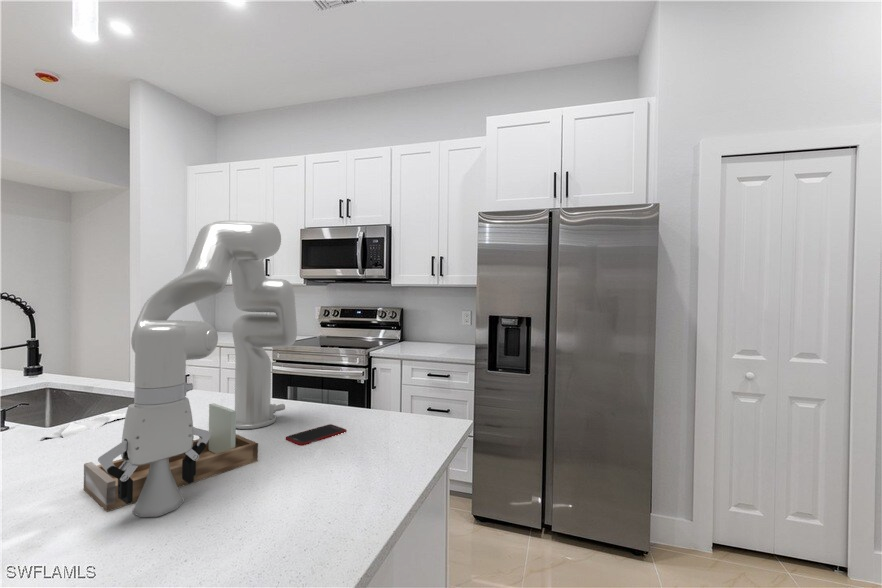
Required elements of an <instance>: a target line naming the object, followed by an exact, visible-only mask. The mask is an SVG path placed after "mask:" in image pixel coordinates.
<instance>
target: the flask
mask: <svg viewBox="0 0 882 588" xmlns="http://www.w3.org/2000/svg"><path fill="white" fill-rule="evenodd" d="M184 502H185V499H184V498H183V494H182V493H181V491H180V489H179V487H177V485H176V482H175V480H174V478H173V475H172V473H171V469H170V465H169V458H167V459H164V460H160V461H156V462H153V463H150V468H149V472H148V476H147V479H146V481H145V484H144V486H143V489H142V491H141V493H140V496H139V498H138V500H137V502H135V505H134V507H133V509H132V514H134V515H137V517H140V518H153V517H154V518H155V517H160V516H163V515H165V514H168V513H171V512H173V511H174V510H178V508H179V507H180V506H181V505H182V503H184Z"/></svg>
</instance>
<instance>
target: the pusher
mask: <svg viewBox="0 0 882 588" xmlns="http://www.w3.org/2000/svg"><path fill="white" fill-rule="evenodd" d="M236 429H237V428H236V411H235V409H231V408H228V407H225V406H222V405H219V404H218V403H212V402H211V403H209V405H208V431H209V432H211V436H210V438H209V449H208V450H209V451H211V452H213V453H215V454H217V453H220V452H224V451H227V450H230V449H234V448H235V434H237V433H236Z"/></svg>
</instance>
